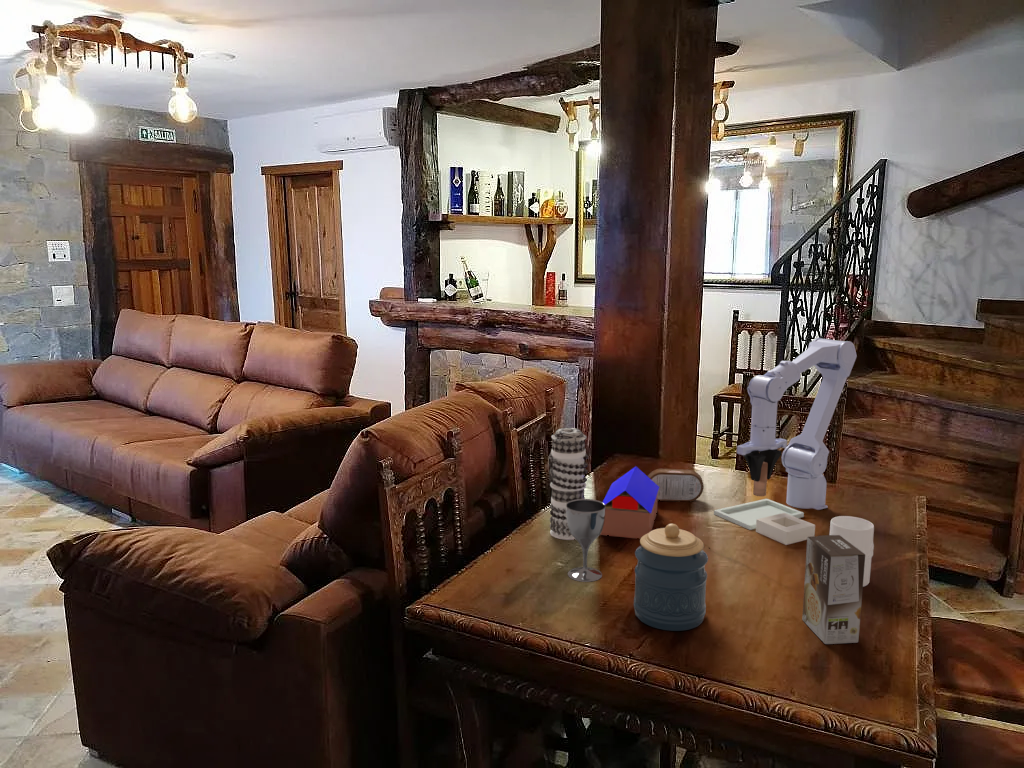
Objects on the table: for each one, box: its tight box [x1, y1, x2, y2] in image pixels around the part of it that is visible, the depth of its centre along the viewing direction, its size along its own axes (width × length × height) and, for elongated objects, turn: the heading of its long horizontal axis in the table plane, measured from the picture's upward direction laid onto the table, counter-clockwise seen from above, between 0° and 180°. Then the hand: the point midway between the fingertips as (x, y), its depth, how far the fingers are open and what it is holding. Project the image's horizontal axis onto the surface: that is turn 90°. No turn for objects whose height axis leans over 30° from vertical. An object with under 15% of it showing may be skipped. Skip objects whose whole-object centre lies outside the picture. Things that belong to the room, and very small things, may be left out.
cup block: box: [755, 513, 816, 546], centre depth 175 cm, size 9×9×4 cm
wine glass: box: [566, 498, 605, 583], centre depth 156 cm, size 8×8×15 cm
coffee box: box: [802, 534, 865, 645], centre depth 132 cm, size 9×6×16 cm
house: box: [599, 466, 659, 540], centre depth 185 cm, size 12×20×12 cm, turn 164°
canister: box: [633, 523, 709, 632], centre depth 138 cm, size 13×13×18 cm
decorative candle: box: [548, 427, 589, 541], centre depth 177 cm, size 9×9×25 cm
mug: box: [829, 515, 875, 588], centre depth 155 cm, size 8×12×12 cm
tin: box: [647, 468, 705, 503], centre depth 201 cm, size 15×3×8 cm, turn 84°
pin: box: [752, 462, 768, 497], centre depth 186 cm, size 3×3×8 cm
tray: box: [713, 498, 805, 531], centre depth 188 cm, size 18×12×2 cm, turn 118°
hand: (760, 479), depth 186 cm, fingers closed on pin, 3 cm apart
